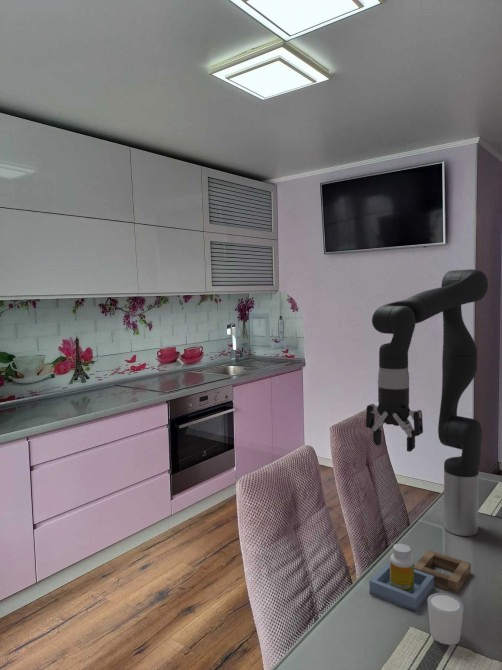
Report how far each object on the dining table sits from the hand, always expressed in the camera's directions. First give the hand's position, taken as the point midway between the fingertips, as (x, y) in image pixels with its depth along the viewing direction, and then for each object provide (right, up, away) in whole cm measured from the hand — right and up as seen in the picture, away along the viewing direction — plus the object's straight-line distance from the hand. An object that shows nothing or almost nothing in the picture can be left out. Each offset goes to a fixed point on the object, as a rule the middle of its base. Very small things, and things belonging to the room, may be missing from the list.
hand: (393, 447), depth 126 cm
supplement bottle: (-1, -31, -10) cm, 32 cm away
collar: (+11, -30, -4) cm, 32 cm away
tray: (-1, -31, -10) cm, 33 cm away
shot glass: (+3, -33, -26) cm, 41 cm away
